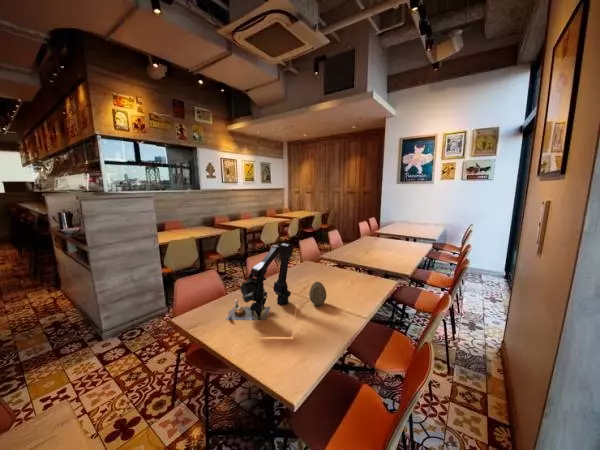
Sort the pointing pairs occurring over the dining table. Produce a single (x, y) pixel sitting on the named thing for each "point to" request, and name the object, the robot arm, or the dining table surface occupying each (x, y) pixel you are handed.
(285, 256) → the robot arm
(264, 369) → the dining table surface
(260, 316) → the hollow octagonal tube
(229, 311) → the carrier
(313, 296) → the decorative egg
